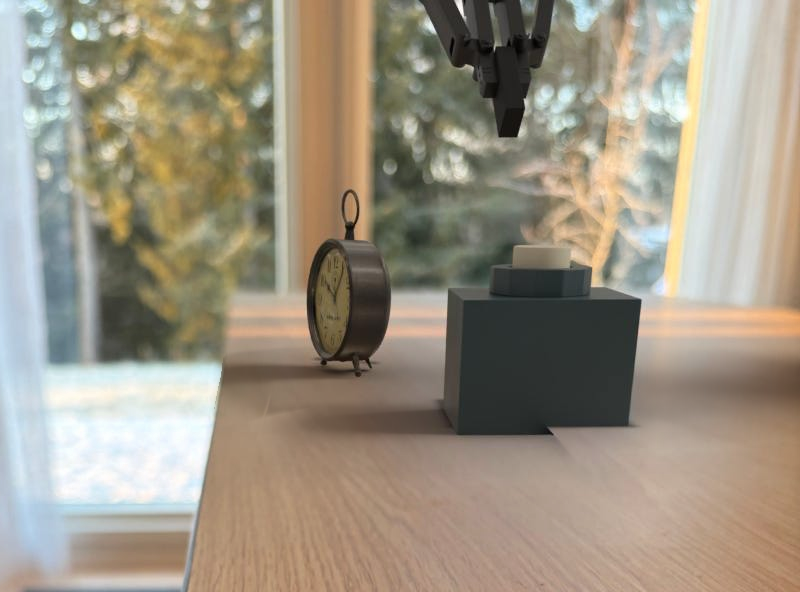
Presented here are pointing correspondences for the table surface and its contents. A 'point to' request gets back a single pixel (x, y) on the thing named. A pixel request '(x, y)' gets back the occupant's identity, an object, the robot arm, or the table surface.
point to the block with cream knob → (539, 353)
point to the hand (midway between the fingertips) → (511, 122)
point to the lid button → (541, 256)
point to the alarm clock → (348, 297)
